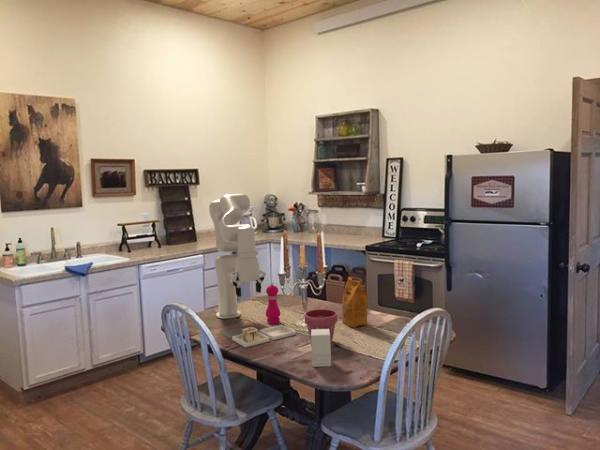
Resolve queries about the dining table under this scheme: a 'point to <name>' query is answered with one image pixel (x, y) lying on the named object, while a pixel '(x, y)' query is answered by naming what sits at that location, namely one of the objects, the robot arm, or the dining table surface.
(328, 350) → the supplement box
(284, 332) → the tray
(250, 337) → the letter cube
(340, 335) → the dining table surface
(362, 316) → the coffee package
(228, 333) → the pad
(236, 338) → the tray
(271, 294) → the pepper mill
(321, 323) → the plant pot
